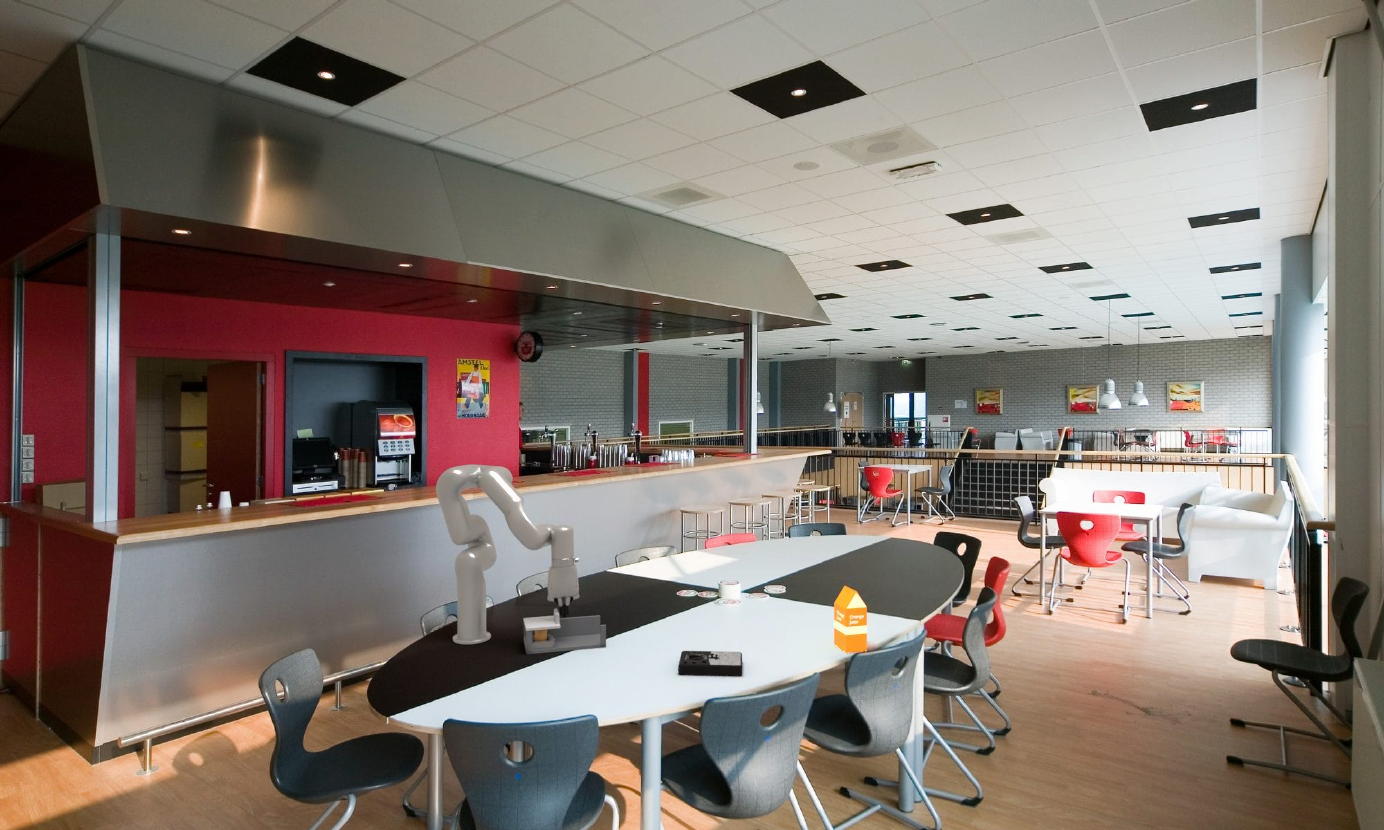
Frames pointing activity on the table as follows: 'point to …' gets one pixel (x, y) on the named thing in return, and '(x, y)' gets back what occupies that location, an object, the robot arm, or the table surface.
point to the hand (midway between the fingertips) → (563, 616)
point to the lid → (543, 622)
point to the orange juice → (850, 621)
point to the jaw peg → (541, 635)
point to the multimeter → (710, 663)
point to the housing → (569, 636)
